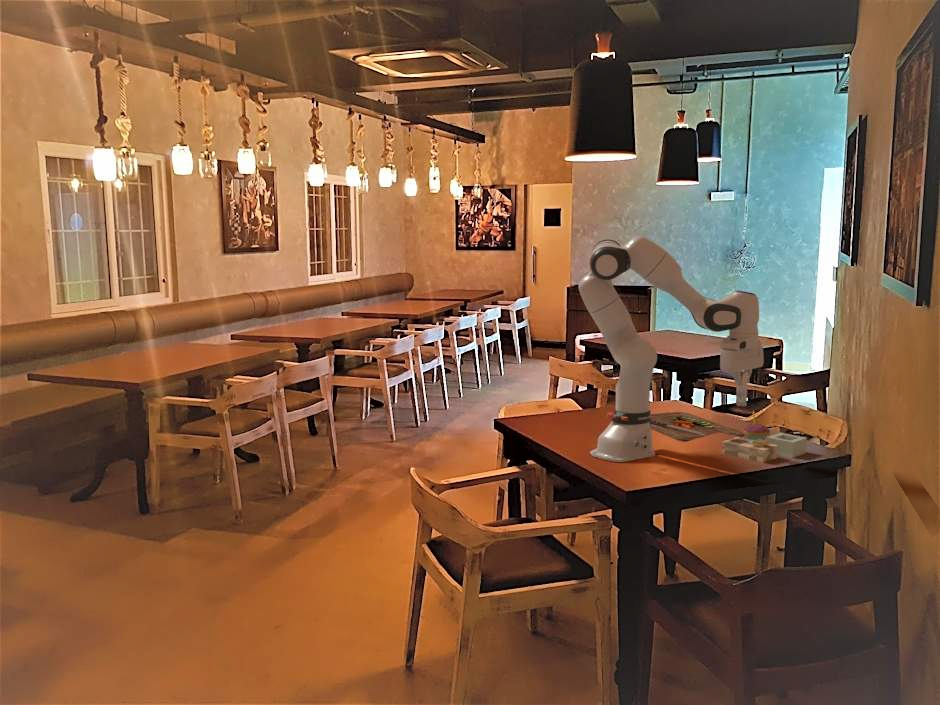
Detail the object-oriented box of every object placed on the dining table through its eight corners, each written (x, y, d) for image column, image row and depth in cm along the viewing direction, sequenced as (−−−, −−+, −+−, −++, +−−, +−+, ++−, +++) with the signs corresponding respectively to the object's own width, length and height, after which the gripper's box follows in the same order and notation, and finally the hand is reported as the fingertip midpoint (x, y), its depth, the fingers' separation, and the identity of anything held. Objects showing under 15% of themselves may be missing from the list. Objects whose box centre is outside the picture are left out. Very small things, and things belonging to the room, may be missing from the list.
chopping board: (751, 438, 267) (751, 430, 267) (687, 445, 259) (687, 437, 259) (680, 413, 310) (680, 406, 309) (622, 418, 302) (623, 411, 301)
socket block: (762, 465, 232) (763, 450, 231) (721, 456, 243) (722, 441, 242) (777, 460, 238) (778, 445, 237) (736, 451, 249) (737, 436, 248)
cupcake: (737, 442, 260) (738, 408, 259) (757, 440, 263) (758, 406, 261) (754, 448, 252) (755, 413, 251) (774, 445, 255) (776, 411, 253)
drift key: (762, 461, 235) (762, 443, 234) (751, 459, 237) (752, 441, 237) (768, 459, 237) (769, 441, 236) (758, 456, 240) (759, 439, 239)
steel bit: (743, 406, 239) (744, 373, 237) (734, 405, 241) (735, 371, 240) (748, 405, 241) (749, 371, 239) (739, 403, 243) (740, 370, 242)
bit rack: (792, 460, 237) (793, 442, 236) (765, 455, 244) (766, 437, 243) (806, 455, 243) (807, 437, 242) (779, 450, 249) (780, 432, 249)
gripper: (751, 337, 247) (750, 378, 249) (717, 343, 234) (715, 386, 236) (769, 339, 242) (767, 381, 244) (735, 345, 229) (733, 389, 231)
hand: (741, 383), depth 240 cm, fingers closed on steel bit, 3 cm apart
